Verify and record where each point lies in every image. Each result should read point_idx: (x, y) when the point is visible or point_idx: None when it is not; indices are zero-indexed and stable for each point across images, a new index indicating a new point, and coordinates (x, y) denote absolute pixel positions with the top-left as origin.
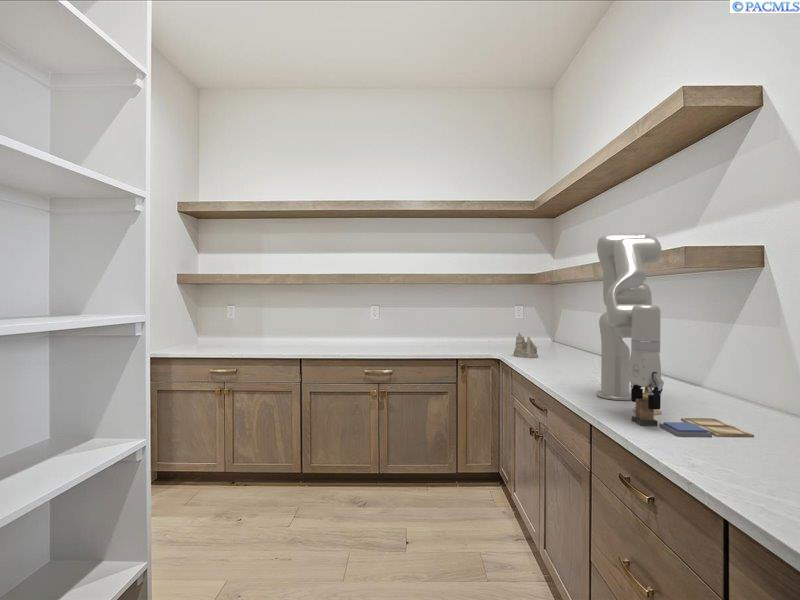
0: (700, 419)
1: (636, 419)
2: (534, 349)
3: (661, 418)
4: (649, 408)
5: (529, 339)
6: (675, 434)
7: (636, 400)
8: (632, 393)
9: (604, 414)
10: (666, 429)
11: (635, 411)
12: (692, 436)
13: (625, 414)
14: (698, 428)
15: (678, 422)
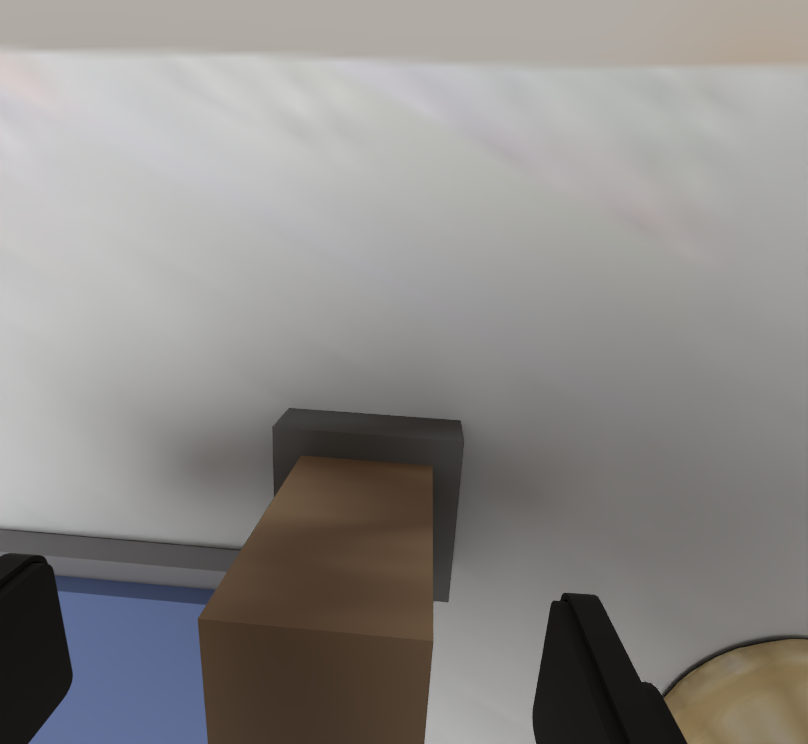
0: None
1: (353, 430)
2: None
3: (530, 714)
4: (9, 558)
5: None
6: (18, 536)
7: (403, 614)
8: (626, 741)
9: (771, 256)
10: (145, 549)
11: (791, 641)
12: None
13: (719, 495)
14: (54, 741)
15: None
